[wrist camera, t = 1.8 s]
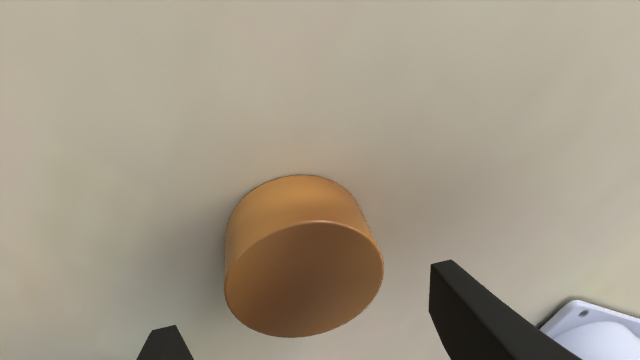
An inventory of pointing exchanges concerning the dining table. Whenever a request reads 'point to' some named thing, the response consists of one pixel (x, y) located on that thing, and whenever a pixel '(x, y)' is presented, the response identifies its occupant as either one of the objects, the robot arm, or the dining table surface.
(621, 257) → the dining table surface
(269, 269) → the orange brown short cylinder
